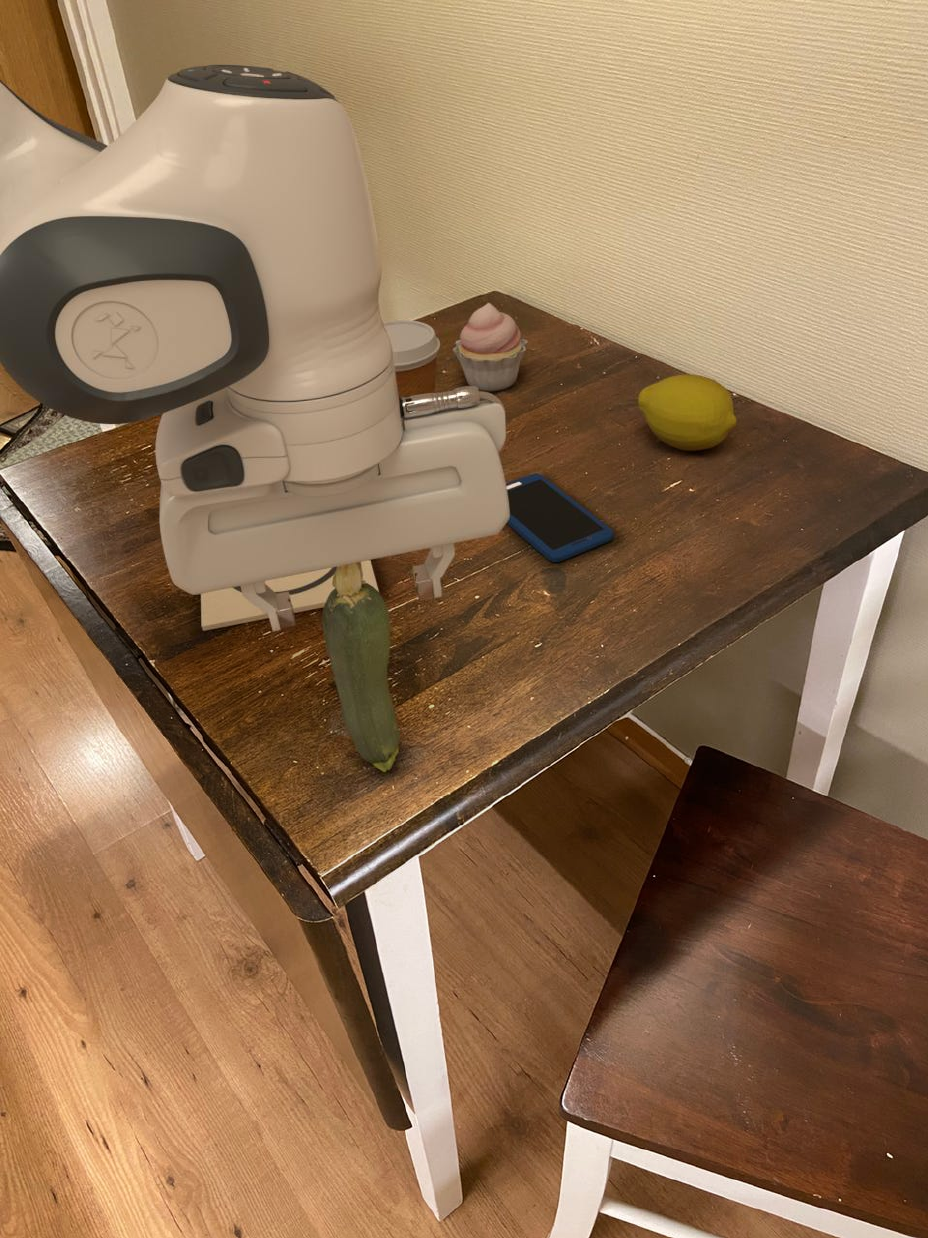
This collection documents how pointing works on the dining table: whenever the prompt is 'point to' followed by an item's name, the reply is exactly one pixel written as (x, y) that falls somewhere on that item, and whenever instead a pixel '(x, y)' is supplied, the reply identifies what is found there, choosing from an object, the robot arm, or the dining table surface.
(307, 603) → the board
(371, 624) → the vegetable
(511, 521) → the cell phone
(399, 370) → the disposable coffee cup
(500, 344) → the cupcake
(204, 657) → the dining table surface
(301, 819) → the dining table surface
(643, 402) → the lemon
